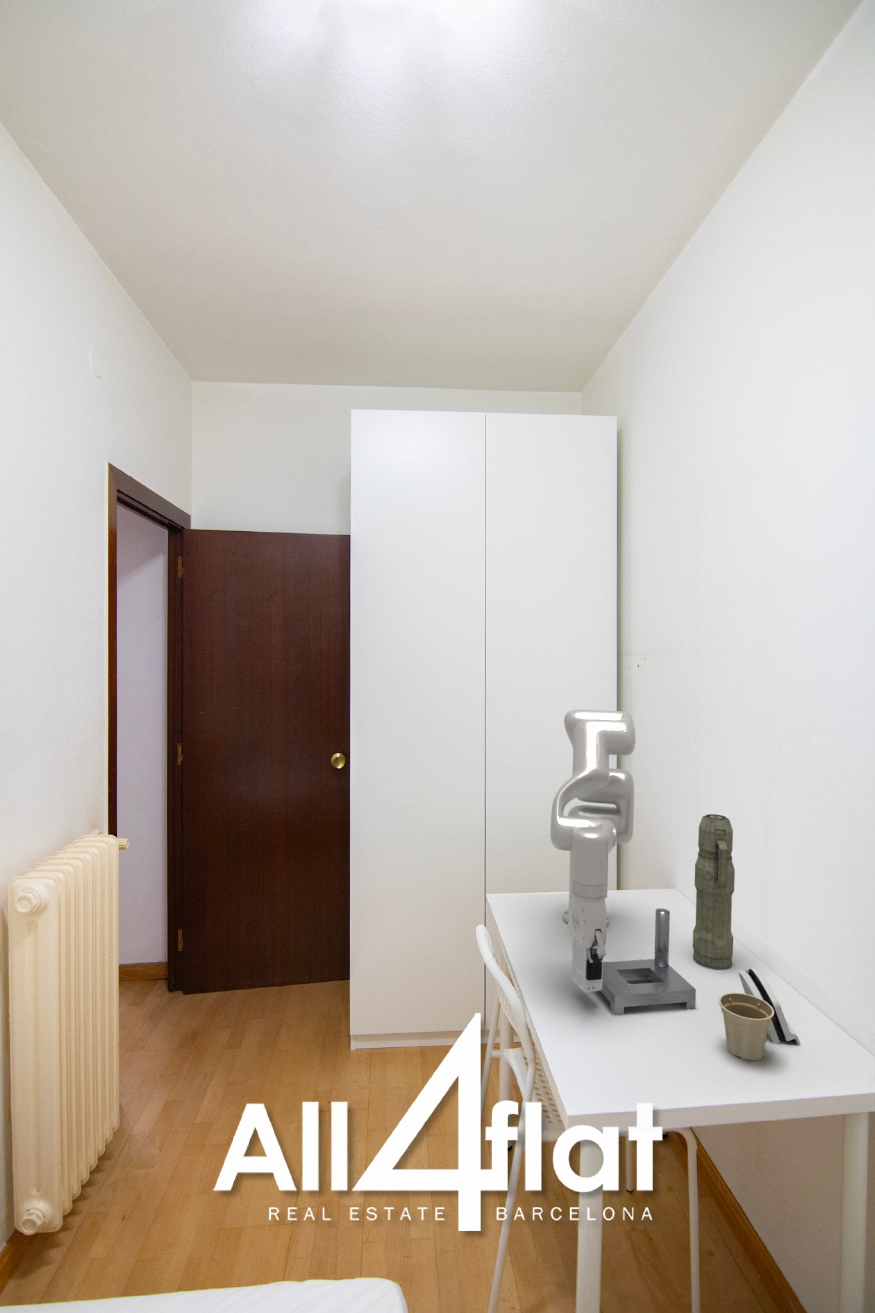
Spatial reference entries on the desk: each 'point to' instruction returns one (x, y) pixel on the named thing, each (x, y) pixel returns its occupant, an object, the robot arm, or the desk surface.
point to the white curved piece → (761, 989)
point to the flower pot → (745, 1024)
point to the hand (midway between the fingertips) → (587, 969)
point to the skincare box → (583, 968)
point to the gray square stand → (647, 976)
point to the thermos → (714, 893)
